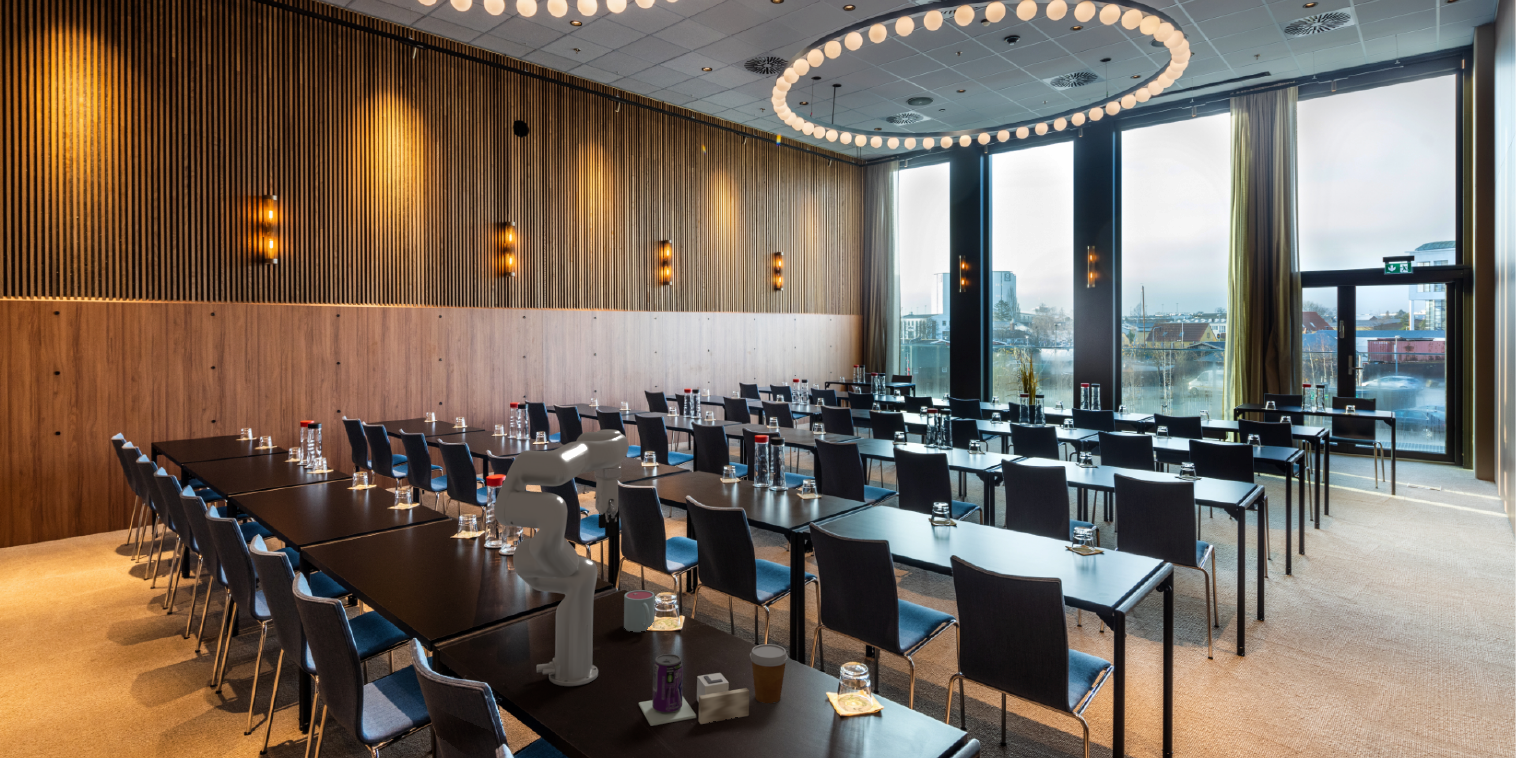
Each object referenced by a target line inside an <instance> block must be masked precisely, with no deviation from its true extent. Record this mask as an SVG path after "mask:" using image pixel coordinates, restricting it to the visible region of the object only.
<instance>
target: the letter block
mask: <svg viewBox="0 0 1516 758" xmlns="http://www.w3.org/2000/svg"><path fill="white" fill-rule="evenodd" d="M696 678H697V679H696V681H697V683H696V701H697V703H699V696H701V695H707V694H713V693H719V692H725V691H730V690H729V689H730V688H729V686H730V685H729V683H730V682H729V681H728V680H727V679H726V678H725V676H724V675H723V674H722V673H721V672H716V673H709V674H703V675H698V676H697V677H696Z"/></svg>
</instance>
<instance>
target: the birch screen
mask: <svg viewBox="0 0 1516 758" xmlns="http://www.w3.org/2000/svg"><path fill="white" fill-rule="evenodd" d="M749 709H750V690H749V689H748V687H744V688H739V689H733V690H729V691H725V692H719V693H713V694H707V695H701V696H699V702H698V722H699V724H700V725H703V724H710V723H714V722H713V721H716V722H720V721H726V720H725V719H727V720H732V719H736V718H735V717H738V718H742V717H748V716H749V715H750V711H749ZM731 718H732V719H731ZM709 722H710V723H709Z"/></svg>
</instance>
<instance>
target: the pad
mask: <svg viewBox="0 0 1516 758" xmlns="http://www.w3.org/2000/svg"><path fill="white" fill-rule="evenodd" d="M652 702H653V699H652V700H651V699H650V700H646V701H640V702H638V706H639V707H640V709H641V711H642V713H643V715H644V717H645V719H646V721H647V722H648V724H649V725H650V726H658V725H663V724H664V725H665V724H668V723H673V722H674V723H675V722H680V721H685V720H692V719H697V714H696V713H695V711H694V710H693V709H692V707H691V705H690V704H689V703H688V701H687V700H686V699H685V696H684V695H682V707H681V708H680V709H678V710H676V711H674V712H671V713H662V712H659V711H657V710H655V709H654V708H653V706H652Z"/></svg>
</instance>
